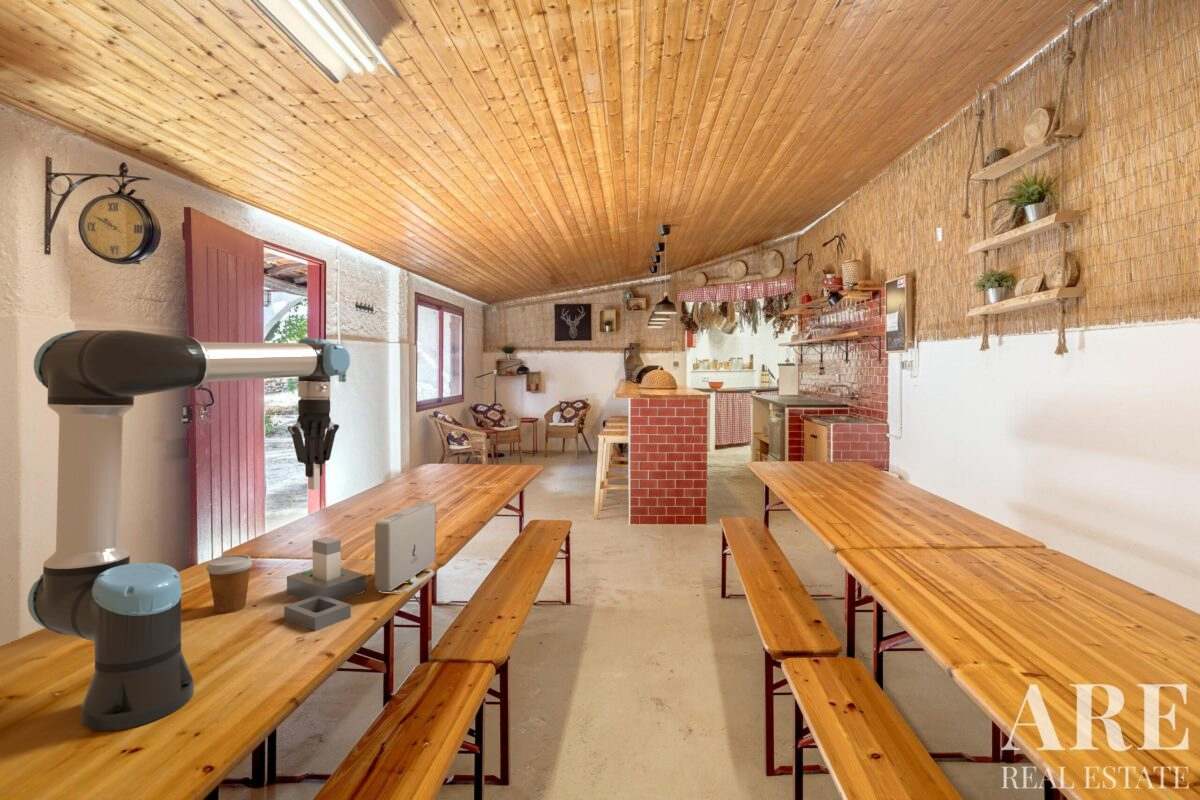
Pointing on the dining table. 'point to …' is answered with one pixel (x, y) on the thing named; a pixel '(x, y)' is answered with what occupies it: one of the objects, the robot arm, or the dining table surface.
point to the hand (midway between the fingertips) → (313, 488)
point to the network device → (405, 547)
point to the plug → (326, 558)
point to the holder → (329, 612)
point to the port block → (326, 585)
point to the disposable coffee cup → (229, 582)
